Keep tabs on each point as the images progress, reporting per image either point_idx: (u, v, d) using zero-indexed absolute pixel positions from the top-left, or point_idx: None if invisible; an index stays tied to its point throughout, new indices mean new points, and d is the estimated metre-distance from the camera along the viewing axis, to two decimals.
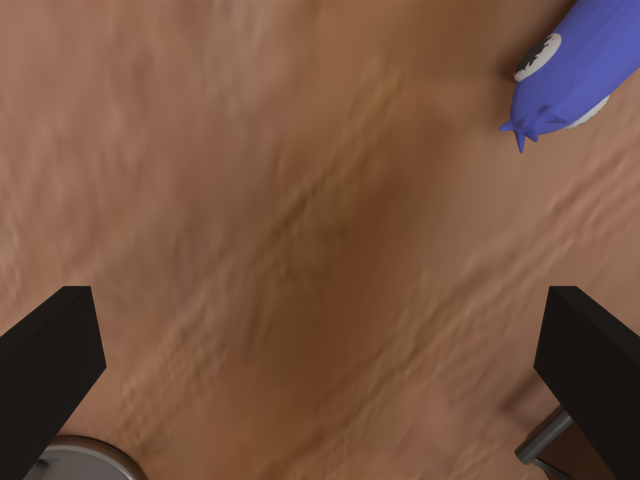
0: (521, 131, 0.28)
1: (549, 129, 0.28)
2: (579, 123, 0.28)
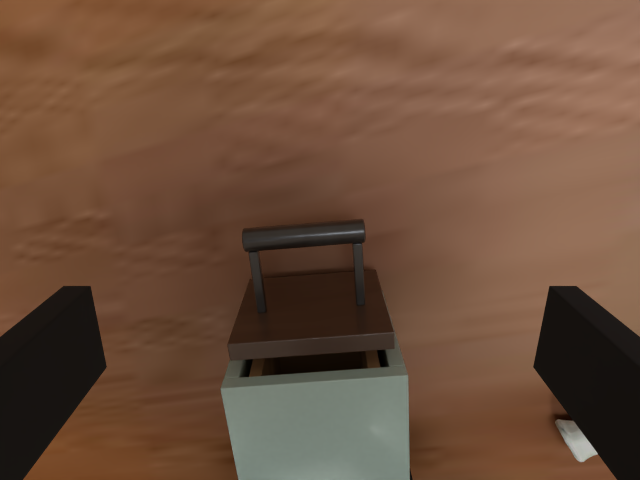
0: None
1: None
2: None
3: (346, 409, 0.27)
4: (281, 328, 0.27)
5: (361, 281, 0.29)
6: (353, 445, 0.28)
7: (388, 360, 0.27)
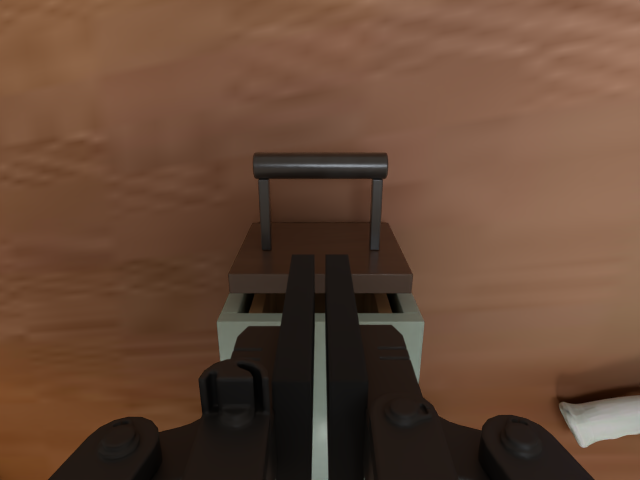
0: None
1: None
2: None
3: None
4: (288, 264, 0.25)
5: (378, 223, 0.26)
6: None
7: (402, 307, 0.25)
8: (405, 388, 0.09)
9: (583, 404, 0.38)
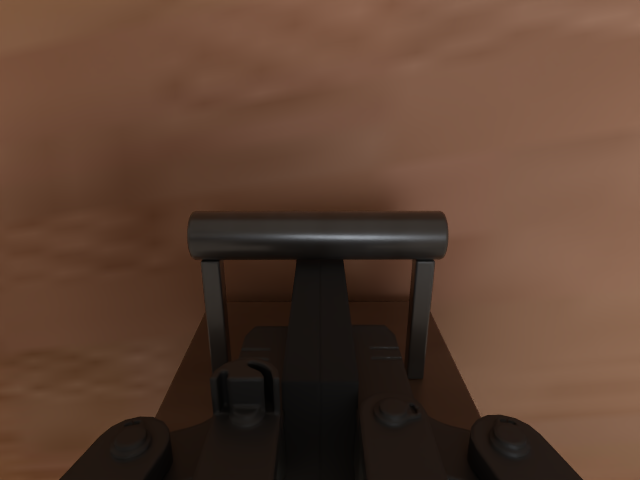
0: None
1: None
2: None
3: None
4: None
5: (423, 335, 0.14)
6: None
7: None
8: (396, 388, 0.09)
9: None
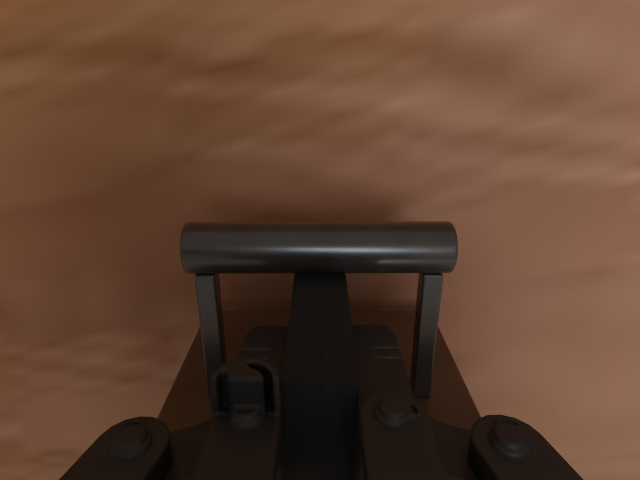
0: None
1: None
2: None
3: None
4: None
5: (430, 351, 0.14)
6: None
7: None
8: (396, 388, 0.09)
9: None
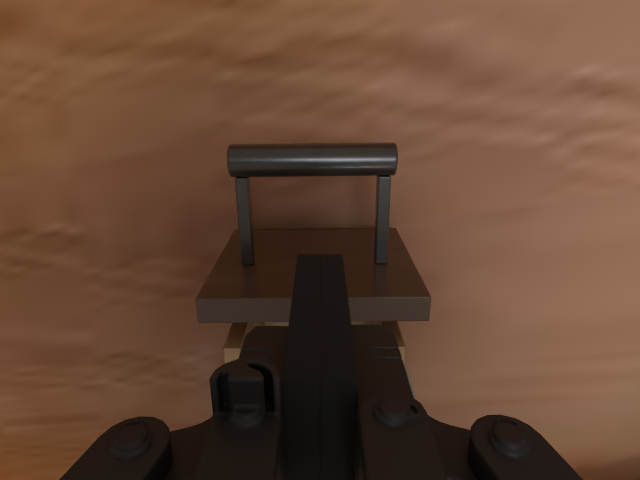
0: None
1: None
2: None
3: None
4: (273, 284, 0.20)
5: (385, 230, 0.21)
6: None
7: None
8: (396, 388, 0.09)
9: None
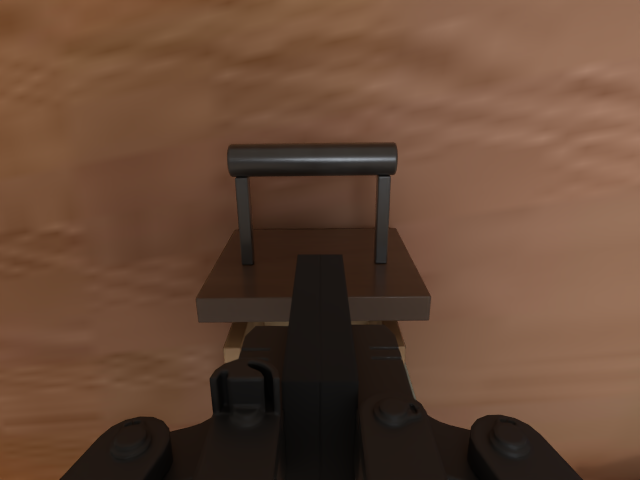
0: None
1: None
2: None
3: None
4: (273, 283, 0.20)
5: (385, 230, 0.21)
6: None
7: None
8: (396, 388, 0.09)
9: None
